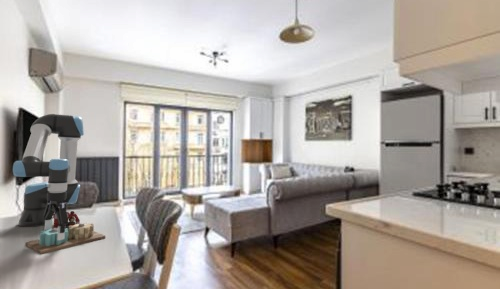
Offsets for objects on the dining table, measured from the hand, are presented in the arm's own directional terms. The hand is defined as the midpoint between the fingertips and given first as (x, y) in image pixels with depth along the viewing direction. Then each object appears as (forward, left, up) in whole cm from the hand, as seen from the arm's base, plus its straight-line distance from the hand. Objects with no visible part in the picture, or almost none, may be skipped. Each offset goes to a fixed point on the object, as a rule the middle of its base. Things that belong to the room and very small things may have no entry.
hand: (54, 236), depth 127 cm
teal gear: (0, 0, -2) cm, 3 cm away
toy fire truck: (-18, +13, -4) cm, 23 cm away
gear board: (0, +6, -4) cm, 7 cm away
